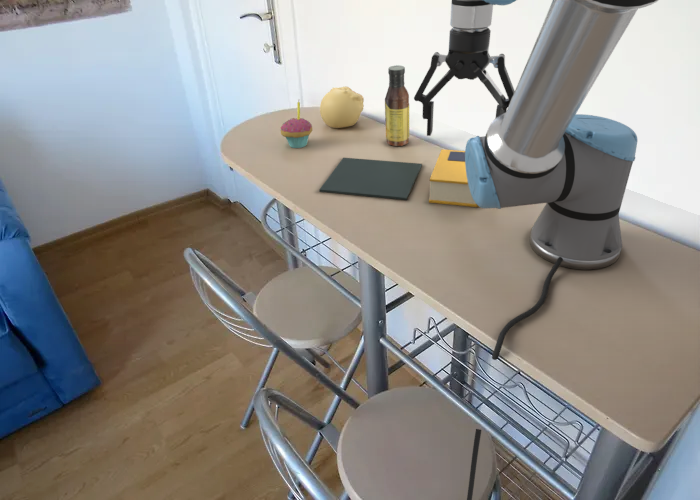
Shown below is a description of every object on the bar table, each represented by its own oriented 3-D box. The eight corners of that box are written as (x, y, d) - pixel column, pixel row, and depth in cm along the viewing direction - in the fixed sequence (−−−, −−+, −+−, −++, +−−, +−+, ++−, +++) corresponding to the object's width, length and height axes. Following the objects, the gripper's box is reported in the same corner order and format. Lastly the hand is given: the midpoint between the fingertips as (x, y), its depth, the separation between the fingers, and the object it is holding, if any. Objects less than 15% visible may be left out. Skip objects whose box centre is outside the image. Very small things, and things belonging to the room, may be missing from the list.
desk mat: (406, 200, 112) (406, 197, 112) (319, 191, 118) (319, 189, 117) (421, 165, 126) (422, 163, 126) (343, 159, 132) (343, 157, 131)
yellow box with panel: (479, 207, 108) (481, 183, 105) (428, 202, 111) (429, 178, 108) (485, 174, 121) (488, 152, 118) (440, 170, 124) (441, 148, 120)
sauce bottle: (393, 137, 143) (393, 62, 132) (413, 141, 140) (415, 64, 129) (380, 145, 138) (379, 68, 128) (401, 149, 135) (401, 71, 124)
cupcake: (296, 137, 146) (292, 94, 140) (320, 142, 142) (316, 98, 135) (276, 147, 141) (270, 103, 134) (300, 153, 136) (295, 108, 130)
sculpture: (370, 123, 153) (369, 86, 147) (339, 135, 146) (337, 96, 140) (343, 115, 160) (341, 79, 154) (313, 125, 153) (310, 88, 147)
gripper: (540, 24, 97) (524, 132, 109) (408, 22, 104) (407, 125, 116) (540, 33, 91) (523, 146, 103) (400, 31, 98) (399, 138, 110)
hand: (461, 135), depth 109 cm, fingers open, 13 cm apart
